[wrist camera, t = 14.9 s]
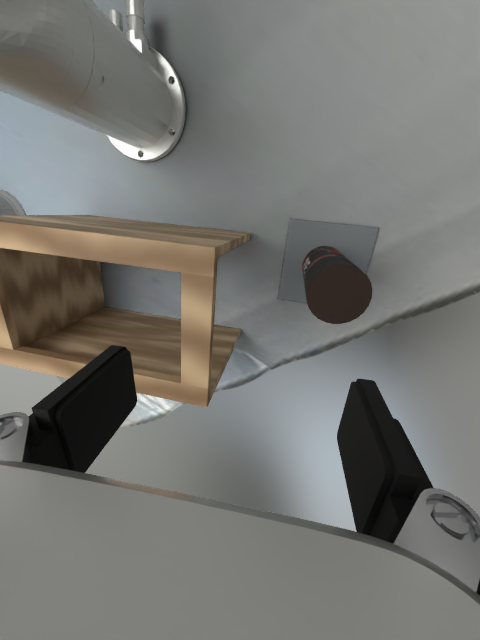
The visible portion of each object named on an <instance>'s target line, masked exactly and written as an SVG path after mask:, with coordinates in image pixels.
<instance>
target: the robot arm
mask: <svg viewBox="0 0 480 640" xmlns="http://www.w3.org/2000/svg"><path fill="white" fill-rule="evenodd" d="M126 10H127V18H128V31H126V33H125V35H124V34H123V20H122V14H121V13H120V12H118V11H116V10H110V11H109V15H110V19H109V18H108V17H107V16H106V15H105V14H104V13H103V12H102V11H101V10H100V9H99V8H98V6H97V5H96V4H95V3H94V2H93V1H92V0H0V91H2V92H4V93H7V94H10V95H12V96H15V97H17V98H20V99H22V100H25V101H27V102H29V103H32V104H34V105H36V106H39V107H41V108H43V109H46V110H48V111H50V112H53V113H55V114H58V115H60V116H62V117H65V118H67V119H69V120H72V121H74V122H77V123H79V124H81V125H84V126H86V127H88V128H91V129H93V130H96V131H98V132H100V133H103V134H105V135H106V136H107V138H108V139H109V141H110V142H111V143H112V144H113V145H114V147H115V148H116V149H117V150H119V151H120V152H121V153H122V154H124V155H125V156H127V157H129V158H132V159H134V160H138V161H144V162H150V161H155V160H158V159H161V158H162V157H164V156H166V155H167V154H168V153H169V152H170V151H171V150H172V149H173V148H174V147H175V145H176V144H177V142H178V141H179V138H180V136H181V133H182V131H183V127H184V123H185V113H186V107H185V97H184V92H183V88H182V85H181V83H180V80H179V77H178V76H177V74H176V72H175V70H174V69H173V67H172V66H171V65H170V63H169V62H168V61H167V60H166V59H165V58H164V57H163V56H162V55H161V54H160V53H159V52H158V51H156V50H155V49H153V48H152V47H149V46H148V39H147V37H146V36H145V35H144V24H145V20H144V0H126ZM174 81H175V83H174V84H173V82H174ZM174 132H175V135H173V134H174ZM143 154H144V155H143ZM136 403H137V395H136V388H135V381H134V374H133V366H132V359H131V353H130V351H128V350H127V348H126V347H124V346H116V345H111V346H110V347H108V348H107V349H106V350H105V351H103V352H102V353H101V354H99V355H98V356H97V357H96V358H94V359H93V360H92V361H91V362H89V363H88V364H87V365H86V366H84V367H83V368H82V369H80V370H79V371H78V372H77V373H75V374H74V375H73V376H72V377H70V378H69V379H68V380H67V381H65V382H64V383H63V384H61V385H60V386H59V387H58V388H56V389H55V390H54V391H53V392H51V393H50V394H49V395H48V396H46V397H45V398H44V399H42V400H41V401H40V402H39V403H37V404H36V405H35V406H34V407H32V411H33V414H31V415H30V416H29V417H28V416H27V415H26V414H24V413H21V412H13V413H8V414H4V415H1V416H0V640H480V517H479V516H478V514H477V513H476V512H475V511H474V510H473V509H472V508H471V507H470V506H469V505H468V504H466V503H465V502H464V501H462V500H461V499H460V498H458V497H457V496H455V495H453V494H451V493H450V492H447V491H444V490H441V489H436V488H433V486H432V484H431V482H430V480H429V478H428V476H427V474H426V472H425V471H424V468H423V467H422V465H421V463H420V461H419V459H418V457H417V455H416V453H415V451H414V449H413V447H412V445H411V443H410V441H409V439H408V438H407V436H406V434H405V432H404V430H403V428H402V426H401V424H400V423H399V421H398V420H396V419H393V417H392V415H391V413H390V411H389V409H388V407H387V405H386V403H385V401H384V399H383V397H382V395H381V393H380V391H379V389H378V387H377V385H376V383H375V382H374V381H372V380H365V379H357V381H356V382H352V383H351V386H350V389H349V393H348V397H347V400H346V404H345V407H344V411H343V414H342V418H341V422H340V425H339V429H338V433H337V440H338V446H339V450H340V455H341V460H342V465H343V470H344V474H345V479H346V483H347V488H348V493H349V498H350V502H351V507H352V512H353V517H354V522H355V526H356V530H357V532H354V531H351V530H346V529H342V528H338V527H333V526H330V525H325V524H321V523H317V522H313V521H308V520H304V519H300V518H295V517H291V516H286V515H282V514H277V513H272V512H268V511H262V510H258V509H254V508H249V507H244V506H240V505H235V504H230V503H226V502H221V501H216V500H212V499H207V498H202V497H197V496H193V495H188V494H183V493H178V492H173V491H169V490H164V489H159V488H154V487H150V486H145V485H140V484H135V483H130V482H125V481H120V480H115V479H111V478H105V477H101V476H96V475H91V474H86V473H85V472H86V470H87V469H88V468H89V466H90V465H91V464H92V463H93V461H94V460H95V459H96V457H97V456H98V455H99V453H100V452H101V451H102V449H103V448H104V446H105V445H106V444H107V443H108V442H109V440H110V439H111V438H112V436H113V435H114V434H115V432H116V431H117V430H118V428H119V427H120V426H121V424H122V423H123V422H124V420H125V419H126V418H127V417H128V415H129V414H130V413H131V411H132V410H133V409H134V407H135V405H136Z"/></svg>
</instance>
